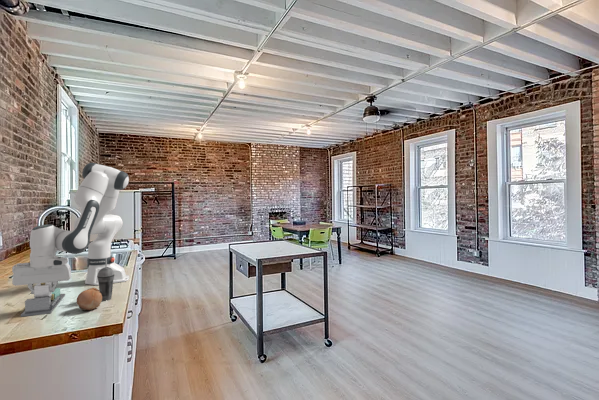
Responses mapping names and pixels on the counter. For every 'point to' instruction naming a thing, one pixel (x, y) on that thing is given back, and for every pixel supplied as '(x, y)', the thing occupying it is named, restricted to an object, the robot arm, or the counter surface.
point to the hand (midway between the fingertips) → (43, 292)
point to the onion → (89, 299)
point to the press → (41, 305)
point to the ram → (55, 292)
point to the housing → (42, 290)
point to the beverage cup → (106, 282)
